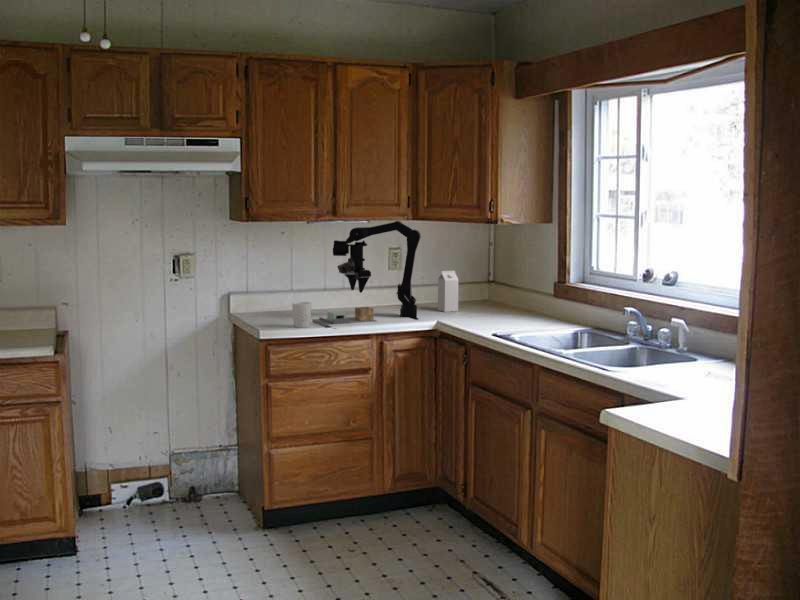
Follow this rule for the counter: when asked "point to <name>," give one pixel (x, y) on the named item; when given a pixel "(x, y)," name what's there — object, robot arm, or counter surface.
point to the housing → (336, 315)
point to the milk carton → (448, 291)
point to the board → (337, 321)
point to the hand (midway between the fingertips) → (356, 291)
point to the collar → (363, 313)
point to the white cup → (301, 314)
